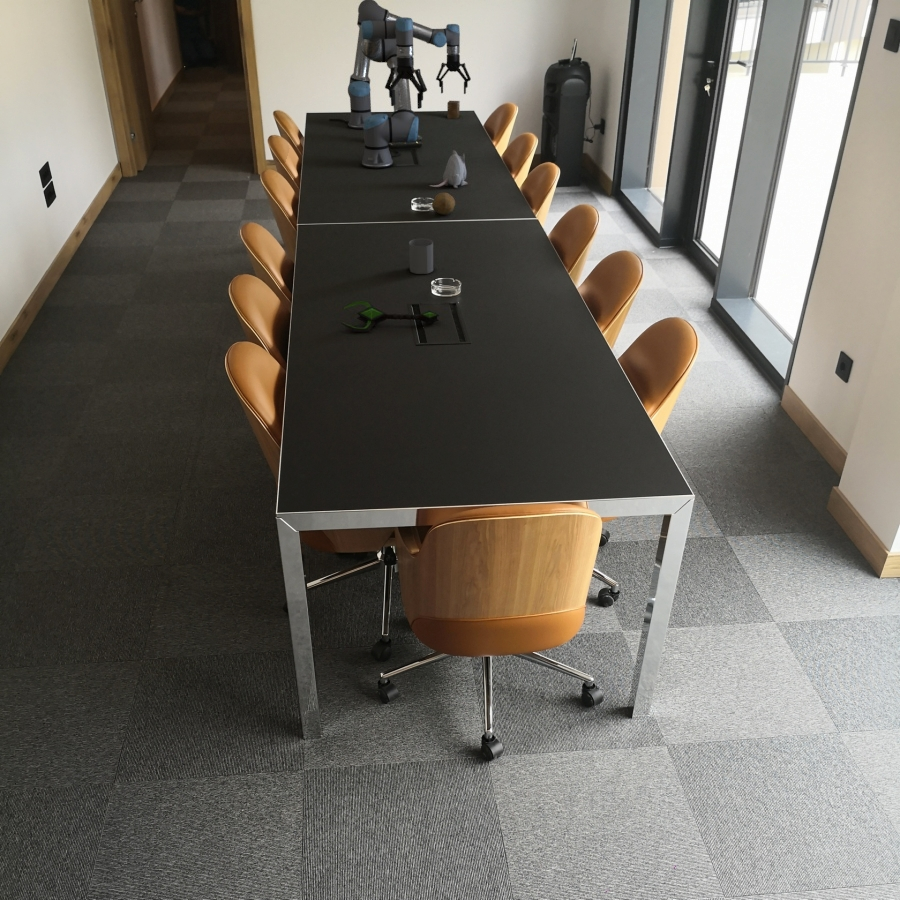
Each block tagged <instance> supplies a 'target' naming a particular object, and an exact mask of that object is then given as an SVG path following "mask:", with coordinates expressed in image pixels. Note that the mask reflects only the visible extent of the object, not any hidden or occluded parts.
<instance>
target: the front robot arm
mask: <svg viewBox="0 0 900 900" xmlns="http://www.w3.org/2000/svg"><path fill="white" fill-rule="evenodd" d="M401 17H402V16H401ZM413 22H414V20H413V19H412V18H411V17H405V16H404V17H402V18H397V19H396V20H389V21H370V20H368V21H363V22H362V23H361V32H362V38H363V41H362V44H361V49H362V52H363V54H364V55H365V56H366V57H367V58H368V59H370V61H371V62H373V63H374V62H375V63H386V67H387V68H388V69H389V70H390V72H389V75H388V78H387V80H386V83H385V86H384V89H385V90H388V97H389V99H390V106H391V107H393V112H392V113H390V114H391V115H390V116H388V114H387V113H376V114H372V115H371V116H368V117H366V118H365V119H364V128H363V129H362V130H363V135H364V151H363V155H362V159H361V166H362V167H363V168H366V169H371V170H381V169H387V168H390V167H392V166H394V161H393V157H397V156H399V155H400V154H401V153H400V152H399V151H398V150H396V149H395V150H394V153H396V154H391V152H390V151H391V150H390V147H389V145H390V144H399V143H400V144H402V143H407V144H408V143H415V142H416V141H417V140H418V134H419V116H417V115H416V113H415V111H414V110H412V102H411V101H412V99H411V90H410V82H411V83H412V85H413V86H414V88H415V89H416V90H417V92H418V93H416V95H417V98H416V99H417V101H416V102H417V109H422V108H423V107H422V106H423V104H422V102H423V100H424V93H425V92H428V89H427V86H426V84H425V81H424V78H423V76H422V74H421V69H420V68H417V69H415V68H414V67H415V66H414V65H415V64H414V63H415V62H414V61H415V59H414V56H415V55H414V54H415V53H414V38H413Z"/></svg>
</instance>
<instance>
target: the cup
mask: <svg viewBox="0 0 900 900" xmlns="http://www.w3.org/2000/svg"><path fill="white" fill-rule="evenodd" d="M408 253H409V272H411V273H412V274H416V275H426V274H430V273H432V272H434V241H433V240H431V239H428V238H422V237H421V238H420V237H419V238H414V239H411V240H410V241H409V242H408Z"/></svg>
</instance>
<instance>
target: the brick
mask: <svg viewBox="0 0 900 900" xmlns="http://www.w3.org/2000/svg"><path fill="white" fill-rule="evenodd" d="M446 106H447V112H446V113H447V119H450V120H451V119H453V120H458V119H459V118H460V109H461V108H460V100H448V101H447V105H446Z"/></svg>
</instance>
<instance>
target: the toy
mask: <svg viewBox="0 0 900 900" xmlns="http://www.w3.org/2000/svg"><path fill="white" fill-rule="evenodd" d="M466 178H467V168H466V156H465V153H463V154H462V155H459V154H458V153H457V151H456V150H455V149H453V150H452V153H451V155H450V156H449V158H448V161H447V163H446V166H445V170H444V171H443V177H442V179H443V181H442V182H441V183H439V184H436V185H435V184H433V185H432V184H430V185H428V186H429V187H434V188H440V187H443V186H446V187H448V186H449V185H451V186H453V188H455V189H459V187H458V186H461V187H462V186H467V185H468V182H467V181H465V180H466Z"/></svg>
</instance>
